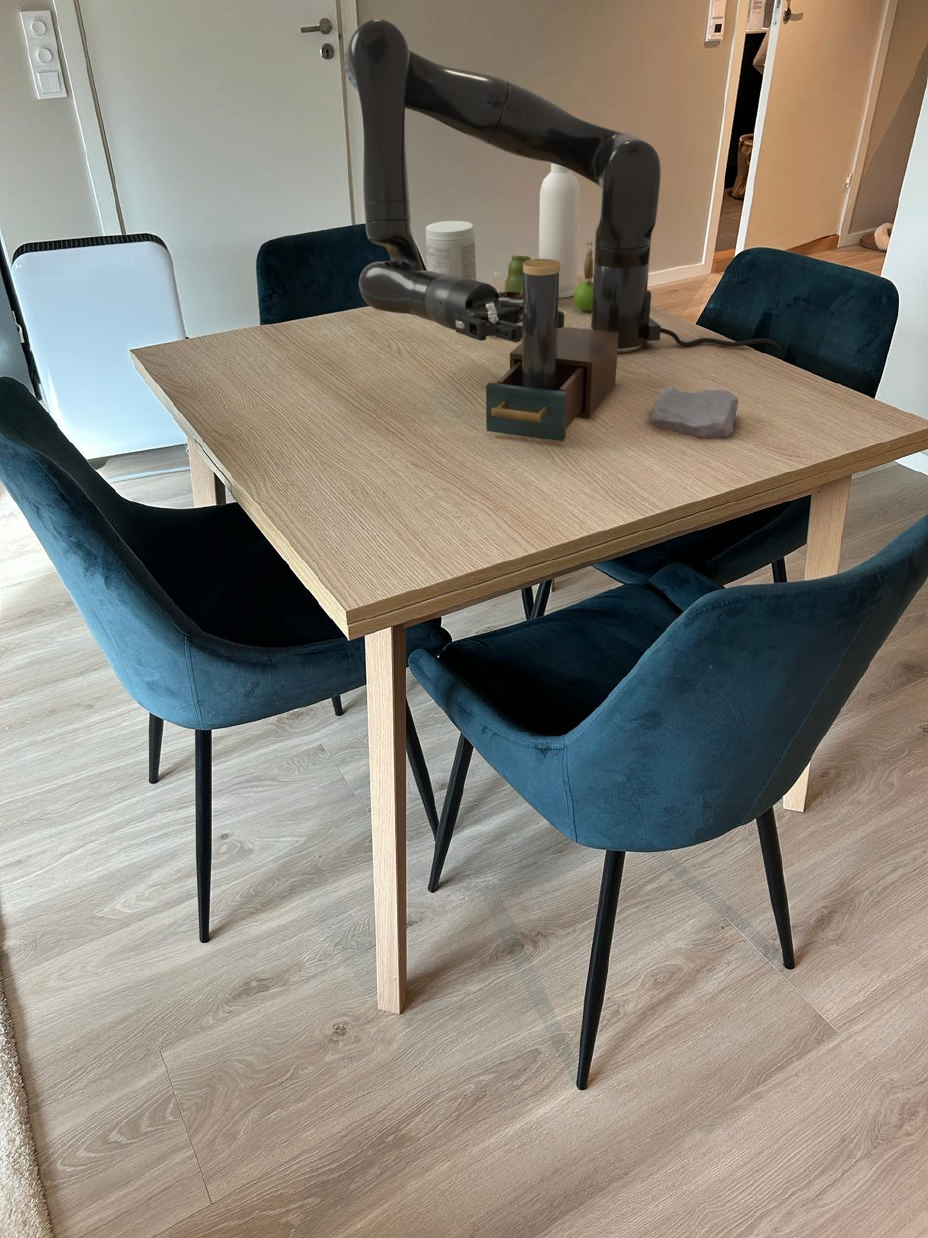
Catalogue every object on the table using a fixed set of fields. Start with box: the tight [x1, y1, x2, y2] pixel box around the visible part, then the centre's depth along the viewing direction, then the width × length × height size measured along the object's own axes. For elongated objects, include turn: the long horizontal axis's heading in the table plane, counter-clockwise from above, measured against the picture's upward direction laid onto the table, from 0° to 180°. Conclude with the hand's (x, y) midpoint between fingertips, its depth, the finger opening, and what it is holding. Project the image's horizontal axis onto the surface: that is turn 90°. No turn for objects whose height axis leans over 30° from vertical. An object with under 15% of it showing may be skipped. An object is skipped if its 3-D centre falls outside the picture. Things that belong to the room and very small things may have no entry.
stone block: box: [650, 386, 739, 439], centre depth 140 cm, size 12×5×10 cm
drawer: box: [485, 360, 587, 442], centre depth 138 cm, size 17×11×7 cm, turn 158°
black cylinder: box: [521, 258, 560, 391], centre depth 135 cm, size 5×5×21 cm
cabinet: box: [509, 326, 619, 420], centre depth 149 cm, size 15×13×9 cm
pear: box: [504, 254, 532, 293], centre depth 190 cm, size 6×5×10 cm
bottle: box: [538, 163, 581, 299], centre depth 192 cm, size 8×8×30 cm
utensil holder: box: [493, 270, 523, 337], centre depth 175 cm, size 6×6×12 cm
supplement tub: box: [425, 220, 477, 281], centre depth 192 cm, size 10×10×15 cm
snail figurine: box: [572, 241, 594, 312], centre depth 186 cm, size 5×6×12 cm
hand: (541, 327), depth 134 cm, fingers open, 8 cm apart
